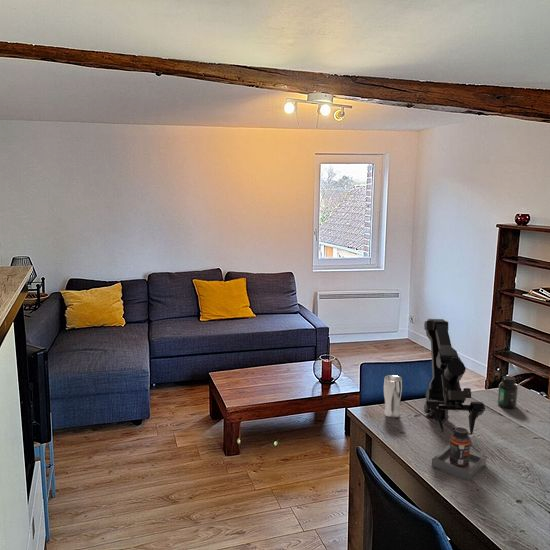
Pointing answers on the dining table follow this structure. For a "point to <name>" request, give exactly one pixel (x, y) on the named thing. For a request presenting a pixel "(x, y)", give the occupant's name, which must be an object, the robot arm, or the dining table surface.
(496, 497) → the dining table surface
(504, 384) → the supplement bottle
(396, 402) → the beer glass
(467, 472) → the tray
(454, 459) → the supplement bottle
